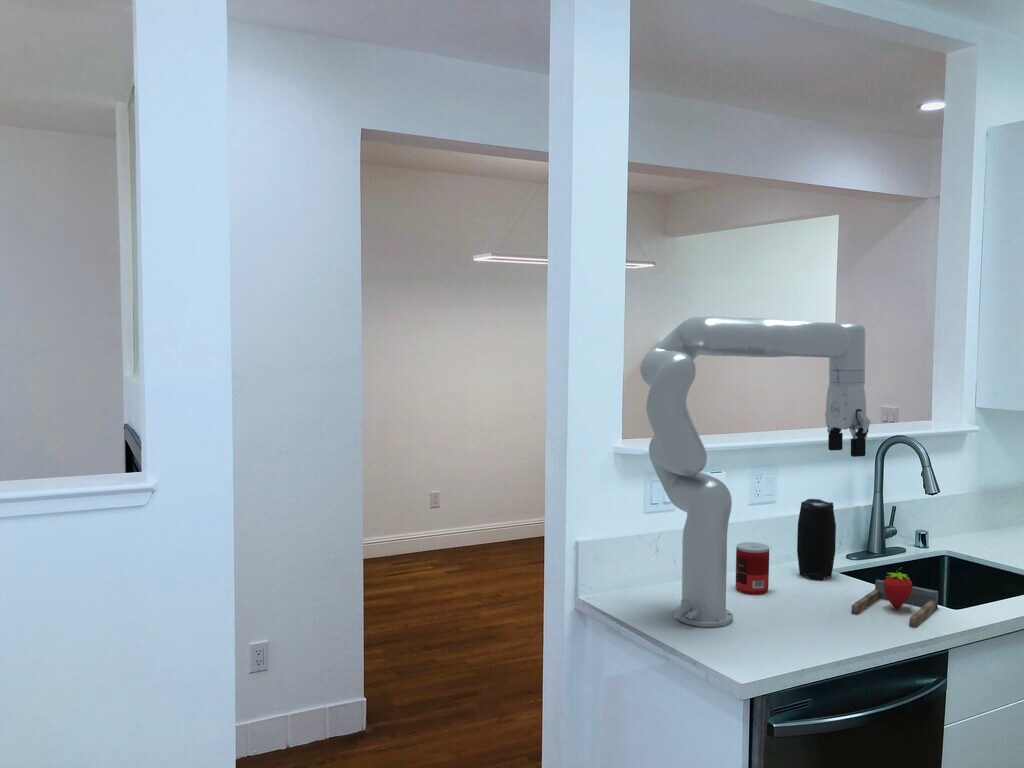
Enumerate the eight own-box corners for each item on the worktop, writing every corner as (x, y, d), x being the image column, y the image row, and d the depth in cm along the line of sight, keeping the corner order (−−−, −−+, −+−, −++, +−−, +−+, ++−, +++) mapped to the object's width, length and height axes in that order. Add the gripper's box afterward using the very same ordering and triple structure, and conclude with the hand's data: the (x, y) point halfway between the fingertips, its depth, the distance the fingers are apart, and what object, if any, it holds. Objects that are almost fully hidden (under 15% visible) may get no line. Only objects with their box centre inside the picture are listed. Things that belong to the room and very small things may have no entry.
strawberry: (917, 608, 189) (918, 565, 189) (903, 616, 184) (905, 572, 183) (890, 602, 193) (892, 560, 193) (877, 609, 188) (878, 566, 188)
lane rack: (915, 627, 177) (915, 609, 177) (851, 613, 186) (851, 596, 185) (937, 608, 189) (938, 591, 189) (876, 595, 198) (877, 579, 198)
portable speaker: (841, 578, 212) (843, 503, 211) (812, 582, 209) (814, 506, 207) (817, 569, 220) (820, 497, 219) (789, 573, 217) (791, 499, 215)
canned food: (773, 589, 203) (774, 545, 202) (760, 597, 197) (761, 551, 196) (744, 583, 208) (745, 540, 207) (730, 590, 202) (730, 546, 201)
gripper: (812, 376, 195) (812, 448, 196) (851, 380, 178) (851, 459, 179) (842, 375, 196) (842, 447, 197) (884, 379, 179) (883, 458, 180)
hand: (846, 453), depth 188 cm, fingers open, 9 cm apart
